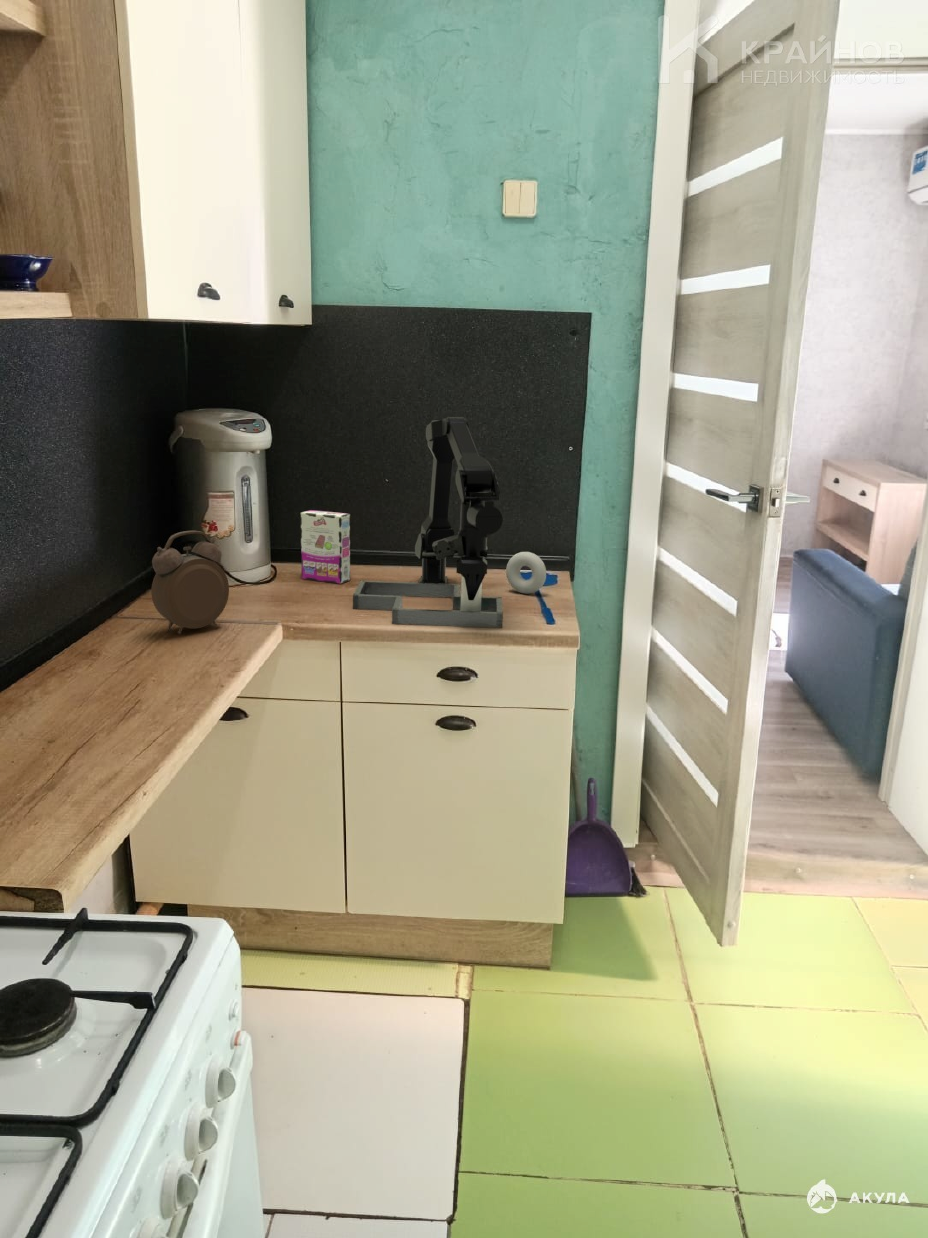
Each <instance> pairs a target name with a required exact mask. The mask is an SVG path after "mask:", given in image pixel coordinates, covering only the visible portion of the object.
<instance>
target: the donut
mask: <svg viewBox="0 0 928 1238" xmlns="http://www.w3.org/2000/svg"><path fill="white" fill-rule="evenodd" d="M522 567H527V568H529V569H530V570H531V571H530V572H531V577H530V578H528V579H526V578H523V576H522V575H521V569H522ZM505 576H506V579H507V582H508V583H509V585H510V586H511V587H512V589H513V590H514V591H517V593H521V594H529V595H530V594H533V593H536V592H538V591H539V590H540V589H541V588H542V587H543V586H544V584H545V582H546V580H547V568H546V565H545V562H544V561H543V560H542V558H541V557H540V556H538V555H537V554H535V553H534V552H530V551H520V552H518V553H515V554H514V555H513V556H512V557H511V558H509V559H508V562H507V564H506V569H505Z"/></svg>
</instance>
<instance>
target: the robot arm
mask: <svg viewBox="0 0 928 1238" xmlns="http://www.w3.org/2000/svg"><path fill="white" fill-rule="evenodd" d="M425 439H426V441H427V447H428V448H429V451H430V453H431V455H432V457H433V459H432V471H431V485H430V499H429V512H428V513H429V514H428V515H427V517H426V519H425V520H424V521H423V522H422V523H421V529H420V533H419V534H418V536H417V539H416V542H415V545H414V552H415V553H414V554H415V556H416V557H417V558H418V560H421V561H422V562H421V565H422V566H421V575H420V578H419V583H444V584H448V583H447V582H448V576H446V574H447V573H446V570H447V569H446V568H447V567H446V565H447V559H448V558H449V559H450V558H451V559H453V558H454V556H455V554H456V555H457V557H459V558H457V560H456V574H458V575H462V576H463V577H464V578H465V583H466V589H467V595H468V600H474V598H475V596H476V594H477V591H478V589H479V587H480V585H481V583H482V584H483V581H484V579H485V576H486V575H488V560H486V559H487V558H488V543H487V542H488V535H493V534H496V532H498V531H499V530H500V529H501V528H502V525H503V519H504V518H503V515H502V513H501V511H500V510H499V509H498V508H497V507H495V501H499V500H500V494H501V490H500V485H499V482H498V478H497V475H496V473H495V470H494V469H493V467H492V466H491V464H490V462H489V460H488V459H486V458H484V457H483V456H481V455H479V452H478V450H477V447H476V444H475V442H474V440H473V437H472V435H471V431H470V429H469V420H468V418H465V417H464V416H461V417H460V416H457V417H456V416H455V417H454V416H452V417H451V416H447V417H446V418H442V420H437V419H434V420H431V421H430V423H428V425H426V428H425ZM454 460H455V462H456V464H457V470H456V472H455V485H456V489H457V491H458V495H459V498H460V500H461V501H460V517H459V518H460V521H459V522H460V523H459V528H458V532H457V534H456V535H455V530H454V529H453V526H452V524H451V522H450V520H449V514H450V513H449V512H450V504H451V503H450V501H451V492H452V491H451V490H452V480H453V479H452V477H453V469H454V466H453V465H454ZM485 558H486V559H485ZM462 576H461V577H462Z"/></svg>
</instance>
